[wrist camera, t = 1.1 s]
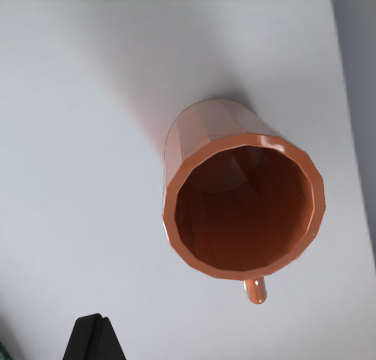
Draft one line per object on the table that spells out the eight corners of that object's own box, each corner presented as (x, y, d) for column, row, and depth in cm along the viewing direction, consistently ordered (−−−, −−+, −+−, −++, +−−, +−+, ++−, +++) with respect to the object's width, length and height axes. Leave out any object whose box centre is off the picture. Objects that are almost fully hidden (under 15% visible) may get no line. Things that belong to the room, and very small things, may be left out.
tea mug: (152, 113, 21) (142, 158, 13) (257, 86, 21) (317, 114, 12) (189, 241, 25) (200, 343, 16) (278, 220, 24) (336, 312, 16)
